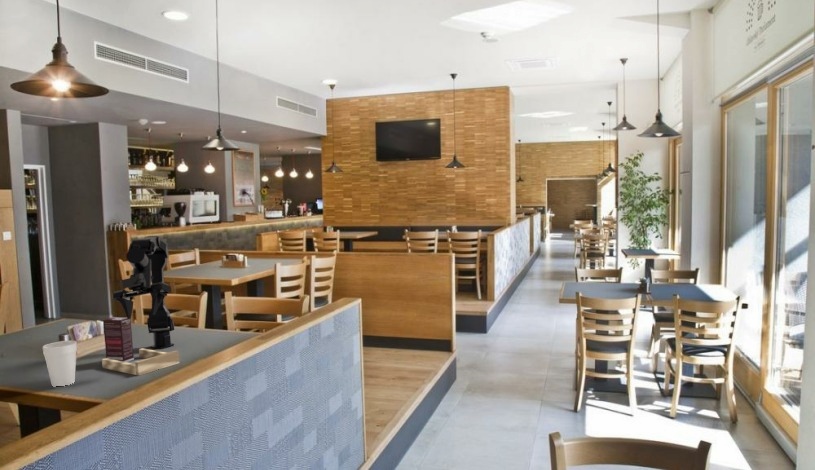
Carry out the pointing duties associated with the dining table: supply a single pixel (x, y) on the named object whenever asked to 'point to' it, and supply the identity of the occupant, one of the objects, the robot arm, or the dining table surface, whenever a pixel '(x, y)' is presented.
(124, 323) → the supplement box
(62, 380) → the foam cup
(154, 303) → the robot arm
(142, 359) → the felt pad
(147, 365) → the frame
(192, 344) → the dining table surface
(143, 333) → the dining table surface
